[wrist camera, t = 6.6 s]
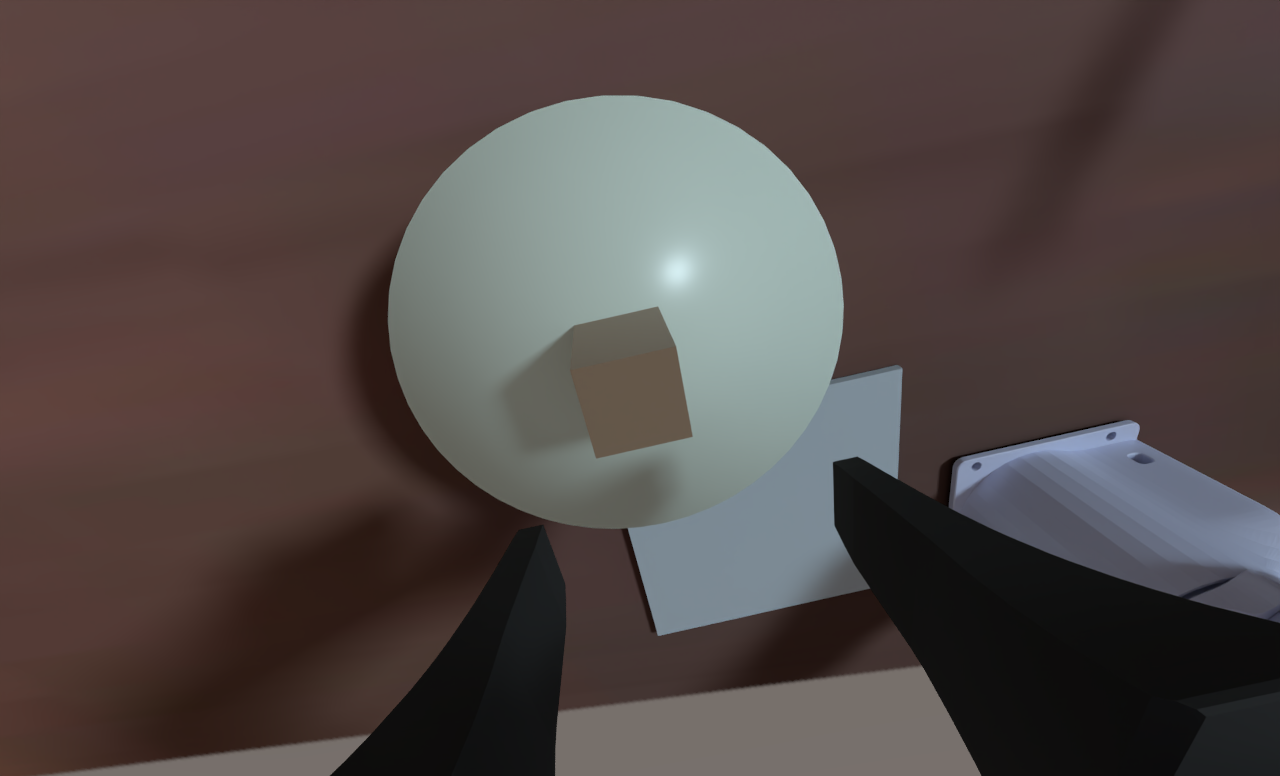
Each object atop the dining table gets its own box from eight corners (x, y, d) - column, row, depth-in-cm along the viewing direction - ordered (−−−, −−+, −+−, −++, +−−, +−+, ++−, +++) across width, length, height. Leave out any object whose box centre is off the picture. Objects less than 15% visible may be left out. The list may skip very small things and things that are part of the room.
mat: (897, 364, 22) (902, 368, 22) (889, 577, 29) (893, 583, 28) (601, 431, 22) (601, 436, 22) (657, 629, 29) (658, 635, 28)
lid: (825, 44, 13) (923, -2, 9) (836, 469, 19) (898, 547, 15) (309, 163, 13) (193, 167, 9) (488, 548, 19) (463, 645, 15)
